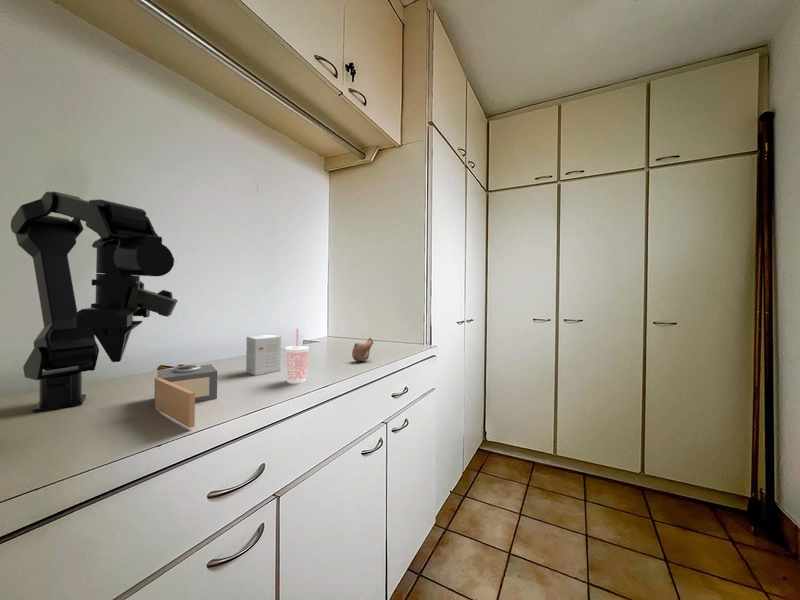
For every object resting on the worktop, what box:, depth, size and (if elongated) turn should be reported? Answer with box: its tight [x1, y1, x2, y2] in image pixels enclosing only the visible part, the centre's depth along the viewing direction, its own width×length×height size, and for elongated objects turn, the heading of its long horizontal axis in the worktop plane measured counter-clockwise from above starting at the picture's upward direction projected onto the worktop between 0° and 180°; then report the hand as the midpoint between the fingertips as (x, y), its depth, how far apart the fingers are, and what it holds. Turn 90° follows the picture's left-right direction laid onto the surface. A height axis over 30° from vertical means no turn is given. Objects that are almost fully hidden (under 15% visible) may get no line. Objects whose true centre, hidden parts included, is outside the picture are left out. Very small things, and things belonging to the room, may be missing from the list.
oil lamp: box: [351, 337, 374, 363], centre depth 107 cm, size 9×4×8 cm, turn 135°
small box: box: [245, 334, 282, 376], centre depth 90 cm, size 8×6×10 cm
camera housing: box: [157, 364, 218, 403], centre depth 67 cm, size 8×10×7 cm
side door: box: [153, 377, 196, 429], centre depth 56 cm, size 1×15×6 cm, turn 57°
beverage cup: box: [284, 328, 310, 385], centre depth 81 cm, size 6×6×14 cm
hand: (116, 361), depth 55 cm, fingers closed
